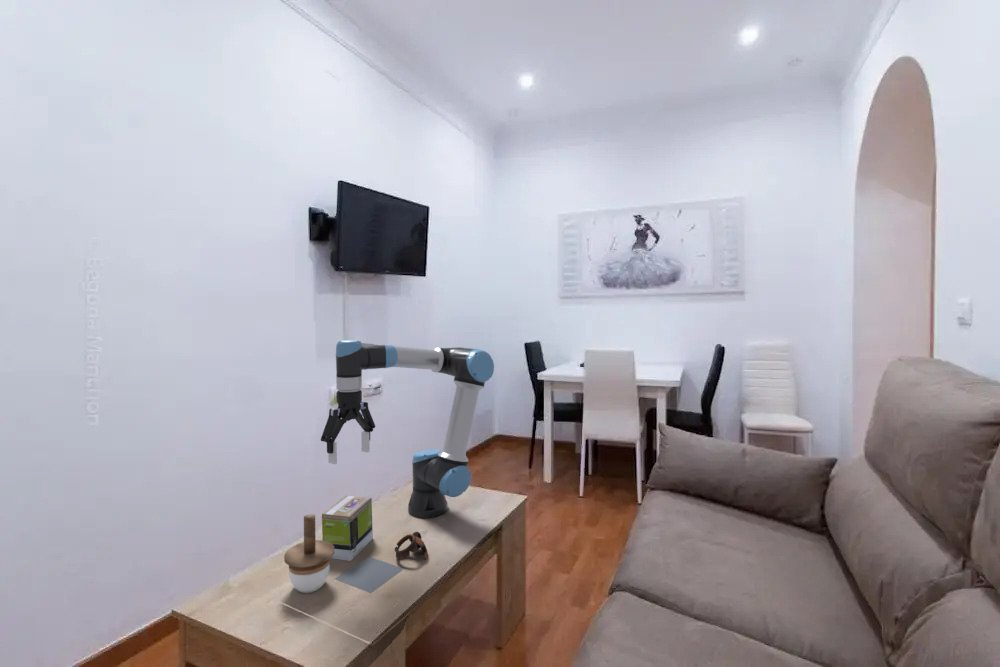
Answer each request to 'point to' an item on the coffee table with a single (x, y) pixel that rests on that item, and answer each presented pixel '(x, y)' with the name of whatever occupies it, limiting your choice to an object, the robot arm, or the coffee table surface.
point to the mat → (369, 574)
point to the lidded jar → (309, 577)
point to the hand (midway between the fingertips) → (349, 457)
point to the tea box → (348, 526)
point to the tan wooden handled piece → (309, 548)
